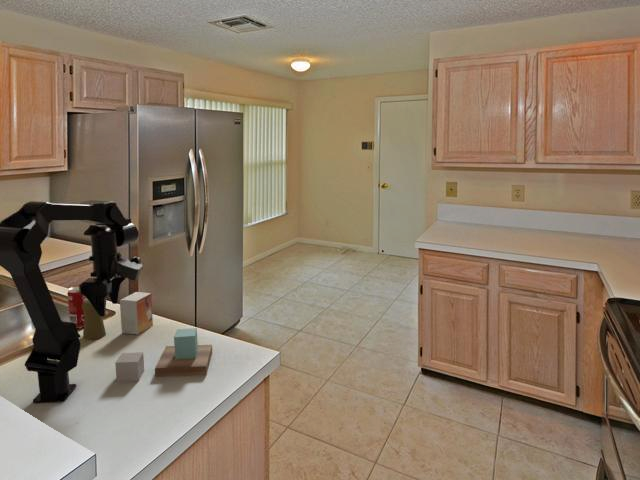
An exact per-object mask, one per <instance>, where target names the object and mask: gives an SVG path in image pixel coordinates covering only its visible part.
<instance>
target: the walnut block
mask: <svg viewBox="0 0 640 480" xmlns="http://www.w3.org/2000/svg"><path fill="white" fill-rule="evenodd" d="M212 356H213V344H198V351H197V356H196V358H192V359H178V360H175V346H174V345H167V346H165V348H164V349H163V351H162V353H161V355H160V357H159V360H158V361H157V363H156V365H155V368H154V373H155V375H154V377H155V378H166V377H167V378H168V377H172V378H173V377H192V376H193V377H195V376H196V377H198V376H207V375H208V370H209V367H210V364H211V363H210V362H211V359H212Z"/></svg>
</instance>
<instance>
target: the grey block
mask: <svg viewBox="0 0 640 480" xmlns="http://www.w3.org/2000/svg"><path fill="white" fill-rule="evenodd" d="M144 372H145V359H144V352H143V351H142V352H140V351H139V352H137V351H136V352H121V353H120V355H119V356H118V358H117V359H116V361H115V375H116V383H123V382H125V383H126V382H127V383H128V382H140V380H141V378H142V377H143V374H144Z"/></svg>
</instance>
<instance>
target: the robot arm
mask: <svg viewBox="0 0 640 480" xmlns="http://www.w3.org/2000/svg"><path fill="white" fill-rule="evenodd" d="M52 221H81V222H84V223H89V224H90V225H89V226H88V227H87V229H86V230H84V232H83V235H84V236H90V244H91V245H90V247H91V255H90V256H89V257H88V261H89V262H92V271H91V272H90V277H88V278H87V279H85V280H83V281H82V282H81V283H80V285H79V292H80V294H83V296H85V297H86V298H87V299H88V300H89V302H90V303H91V304H92V306H93V307H94V309H95V310H96V312H97V313H98V314H99V316H100V317H102V318H103V317H105V316H106V309H107V297H108V296H109V299H110V301H111V304H112V305H117V304H118V302H119V297H120V293H121V288H122V284H123V283H124V281H125V280H126V279H128V280H130V281H133V282H134V281H136V280H137V279H138V278H139V277H140V276H141V272H142V270H143V269H144V268H143V263H142V261H141V257H137V256H134V257H132V258H131V259H130V260H129V259H128V258H127V259H125V258H122V254H121V252H118V247H119V248H120V247H122V246H125V245H128V244H133V243H135V242H136V241H137V240H138V238H139V235H140V234H139V230H138V228H137V226H136V225H135V224H134V223H132V218H127V217H125V216H124V215H123V212H121V210H120V208H119V207H118V205H117V202H116V201H113V200H112V201H111V200H95V199H93V200H92V199H91V200H86V201H81V202H80V203H54V202H49V201H35V200H34V201H33V200H32V201H28V202H25V203H24V204H23V205H22V206H21V207H20V208H19V209H18V210H17V211H16V212H13V214H11V215H9V216H7V217H5V218H4V219H3V220H1V221H0V267H2V269H4V270H5V271H7V272H8V273H9V274H10V276H11V278H12V280H13V283H14V286H15V287H16V289H17V291H18V294H19V296H20V298H21V301H22V302H23V305H24V307H25V309H26V311H27V313H28V316H29V317H30V320H31V322H32V325H33V326H34V327H33V328H34V329H35V330H34V332H33V335H32V345H33V348H32V350H31V351H30V353H29V355H28V357H27V359H26V361H25V362H24V366H25V369H26V370H27V372H36V373H37V381H38V390H39V393H38V394H36V396H35V397H34V398H33V399H32V402H33V403H34V404H35V403H38V404H39V403H53V402H55V403H57V402H65V401H66V400H67V399H68V398H69V396H70V395H71V394H72V393H73V391H74V390H75V389H76V387H77V384H76V383H70V375H69V372H70V371H71V370H73V369H75V368H76V367H77V366H78V361H79V357H80V350H81V339H80V338H81V337H82V335H81V334H79V332H78V329H77V328H76V325H75V324H74V323H72V322H70V321H65V320H64V321H63V320H62V319H61V315H60V314H59V312H58V309H57V306H56V304H55V302H54V299H53V297H52V294H51V292H50V289H49V288H48V285H47V282H46V280H45V278H44V275H43V273H42V270H41V267H40V261H41V259H42V254H43V250H42V244H43V242H44V240H45V239H46V238H47V237H48V235H49V228H50V224H51V223H52ZM33 222H34V224H33V225H32V227H31V228H26V227H27V226H29V225H31V224H32V223H33ZM92 224H93V225H92Z"/></svg>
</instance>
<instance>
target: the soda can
mask: <svg viewBox="0 0 640 480" xmlns="http://www.w3.org/2000/svg"><path fill="white" fill-rule="evenodd" d="M67 290H68V291H67V304H68V305H67V306H68V315H69V316H68V317H69V322H72V323H74V324H75V325H76V328H79V329H81V328H80V327H84V314H85V312H84V311H83V309H82V303H83V302H84V301H85V300H88V299H87V298H86V297H85V296H83V294H80V292H79V286H72V287H70V288H68V289H67Z"/></svg>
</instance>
